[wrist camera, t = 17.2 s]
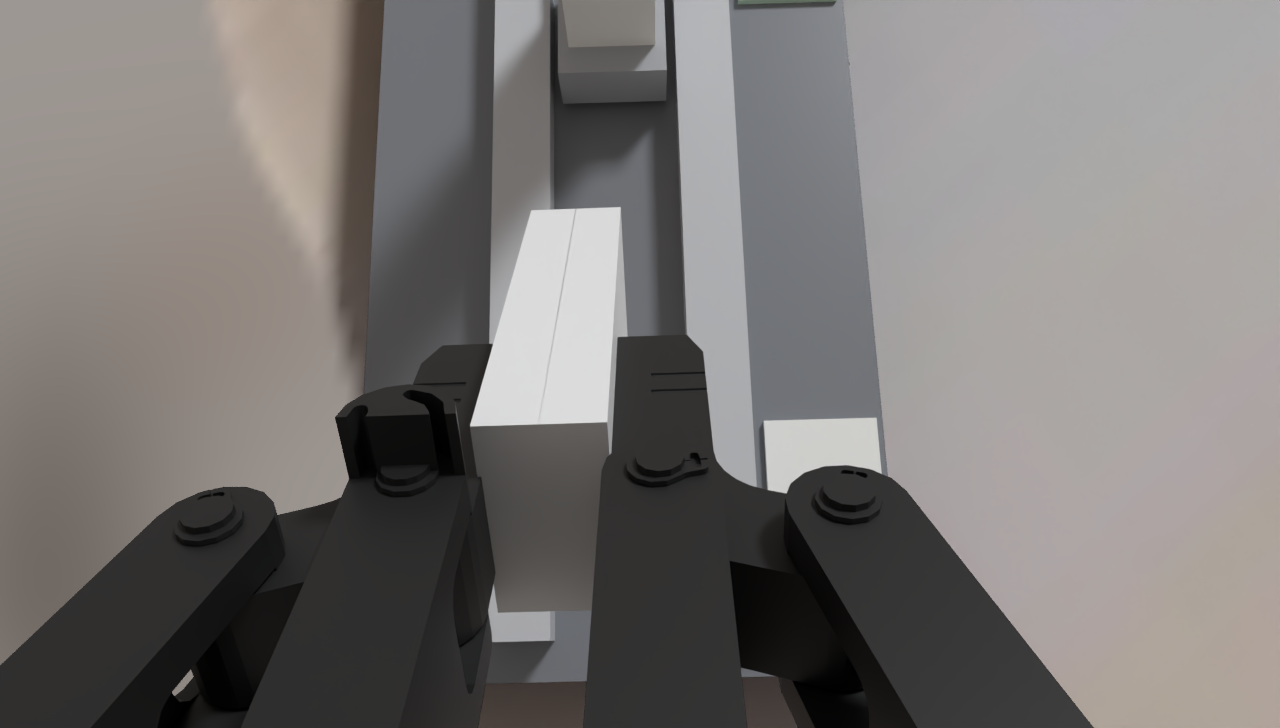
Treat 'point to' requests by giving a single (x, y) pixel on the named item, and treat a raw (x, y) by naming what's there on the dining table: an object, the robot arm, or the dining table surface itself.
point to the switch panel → (638, 226)
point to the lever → (611, 51)
